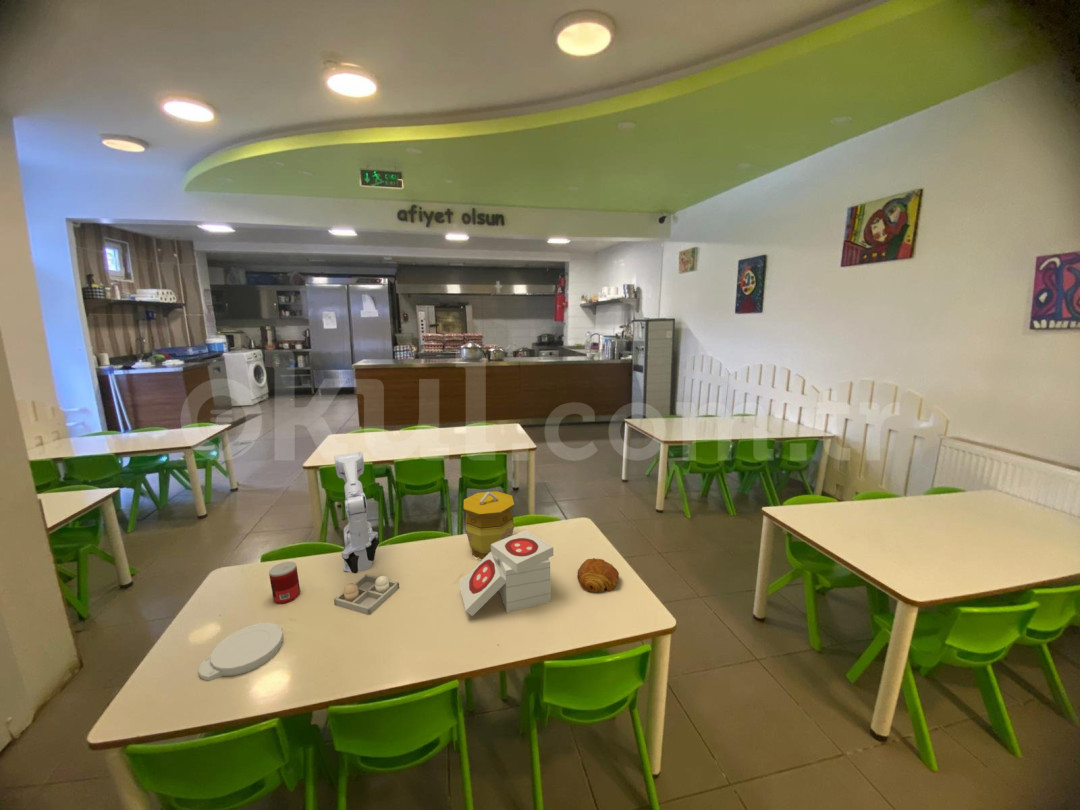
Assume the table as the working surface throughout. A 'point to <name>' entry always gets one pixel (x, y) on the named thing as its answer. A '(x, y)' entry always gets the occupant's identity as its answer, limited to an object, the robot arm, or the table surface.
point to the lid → (242, 651)
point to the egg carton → (367, 595)
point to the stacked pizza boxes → (510, 574)
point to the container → (488, 520)
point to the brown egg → (351, 592)
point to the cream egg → (382, 584)
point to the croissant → (597, 575)
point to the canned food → (284, 582)
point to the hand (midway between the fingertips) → (363, 566)
